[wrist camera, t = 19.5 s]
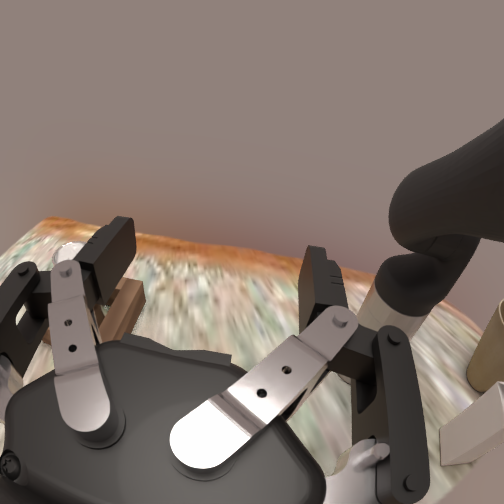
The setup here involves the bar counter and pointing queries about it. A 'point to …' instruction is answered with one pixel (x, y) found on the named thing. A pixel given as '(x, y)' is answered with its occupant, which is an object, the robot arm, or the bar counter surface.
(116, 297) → the walnut well block
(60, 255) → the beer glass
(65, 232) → the bar counter surface
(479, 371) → the plant pot
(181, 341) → the bar counter surface
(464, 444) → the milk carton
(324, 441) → the bar counter surface
